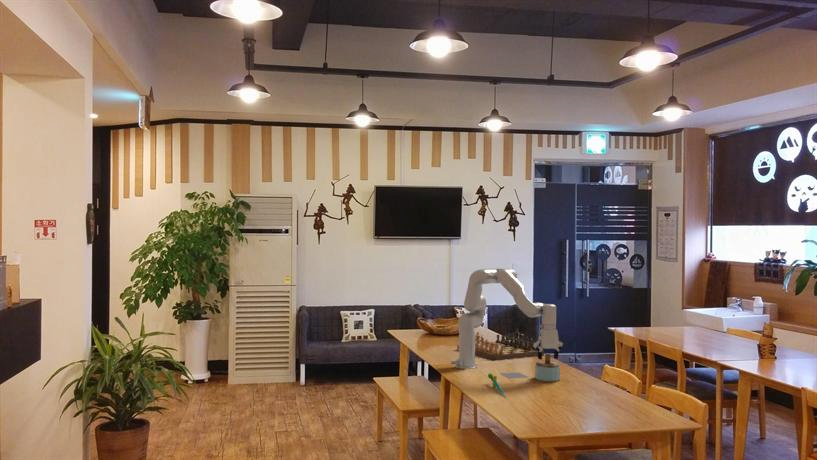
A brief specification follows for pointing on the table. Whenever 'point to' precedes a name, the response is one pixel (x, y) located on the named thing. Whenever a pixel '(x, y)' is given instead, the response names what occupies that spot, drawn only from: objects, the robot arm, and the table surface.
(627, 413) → the table surface
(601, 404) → the table surface
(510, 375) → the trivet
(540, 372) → the bowl
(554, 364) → the lid
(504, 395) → the toy sword
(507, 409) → the table surface
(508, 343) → the chess set
